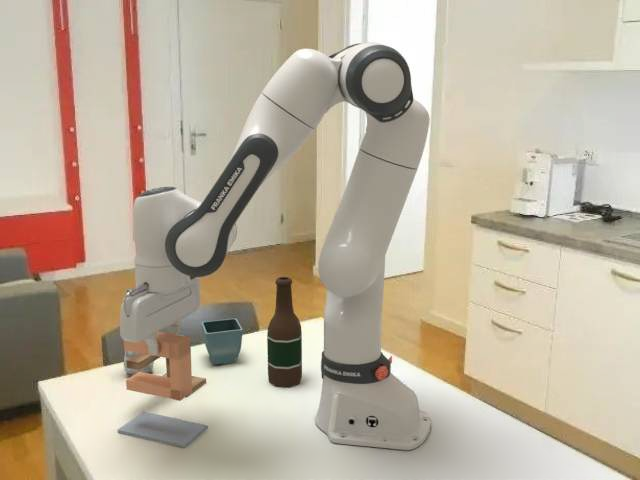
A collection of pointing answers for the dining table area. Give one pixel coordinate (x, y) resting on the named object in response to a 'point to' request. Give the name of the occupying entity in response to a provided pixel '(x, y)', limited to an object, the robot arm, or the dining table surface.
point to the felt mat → (163, 429)
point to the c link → (180, 368)
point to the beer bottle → (284, 339)
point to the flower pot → (222, 340)
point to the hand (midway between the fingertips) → (163, 348)
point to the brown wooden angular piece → (145, 359)
